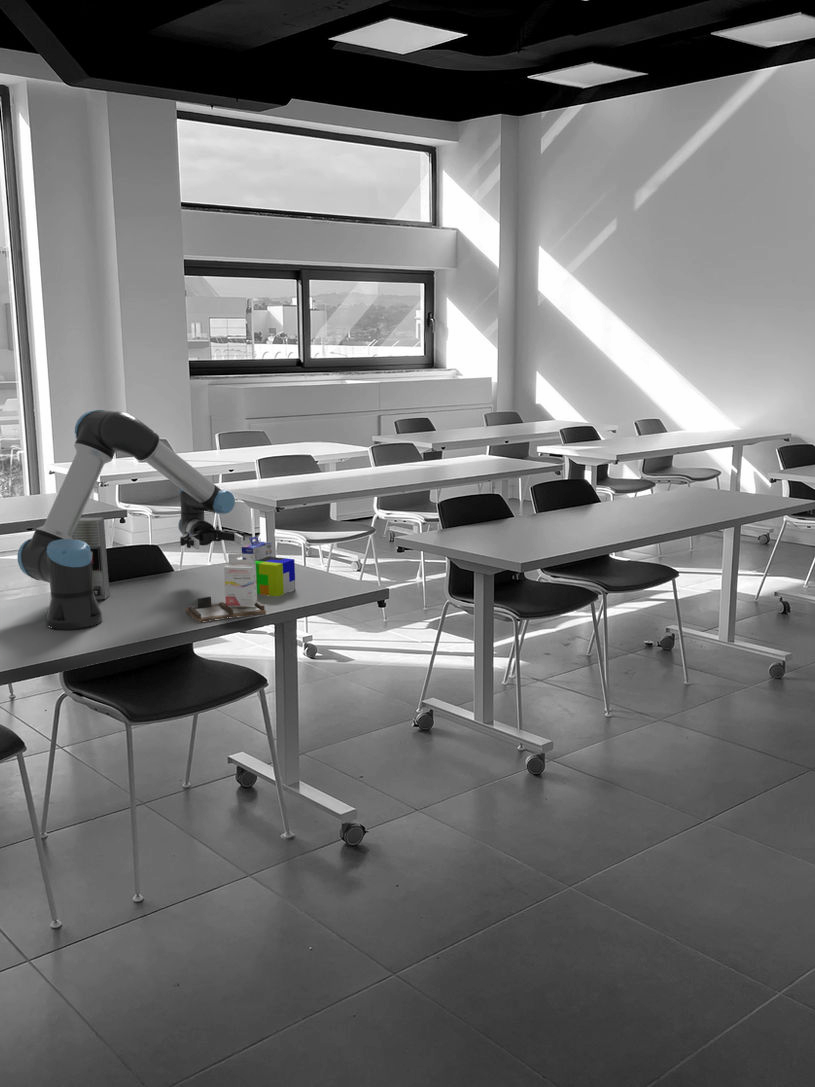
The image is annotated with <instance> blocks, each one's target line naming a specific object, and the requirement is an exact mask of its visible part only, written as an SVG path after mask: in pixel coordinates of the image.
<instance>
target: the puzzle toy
mask: <svg viewBox="0 0 815 1087" xmlns="http://www.w3.org/2000/svg"><path fill="white" fill-rule="evenodd" d="M255 564H256V583H257V595H259V594H261V596H267V595H269V596H268V597H275V596H279V597H281V596H283V595H282V594H284V595H286V594H288V593H287V592H289V591H291V590H294V589H297V588H296V573H295V572H296V567H295V566H296V565H295V558H286V557H278V556H277V557H275V556H272V557H266V558H263V559H260V560H257V561H255ZM294 591H295V590H294ZM291 592H292V591H291ZM285 593H286V594H285ZM289 593H290V592H289ZM280 595H281V596H280Z"/></svg>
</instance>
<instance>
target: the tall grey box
mask: <svg viewBox="0 0 815 1087" xmlns="http://www.w3.org/2000/svg"><path fill="white" fill-rule="evenodd" d="M105 529H106V528H105V517H81V518H80V520H79V522H78V524H77V527H76V529H75V531H74V533H73V536H72V539H73V540H80V541H83V542H85V543H87V544H88V545H89V547H90V551H91V555H92V573H93V588H94V596H95V598H96V600H102V599H105V600H106V599H107V598H108V597H109V596H110V595H111V591H110V582H109V572H108V571H109V569H108V556H107V541H106V530H105Z"/></svg>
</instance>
